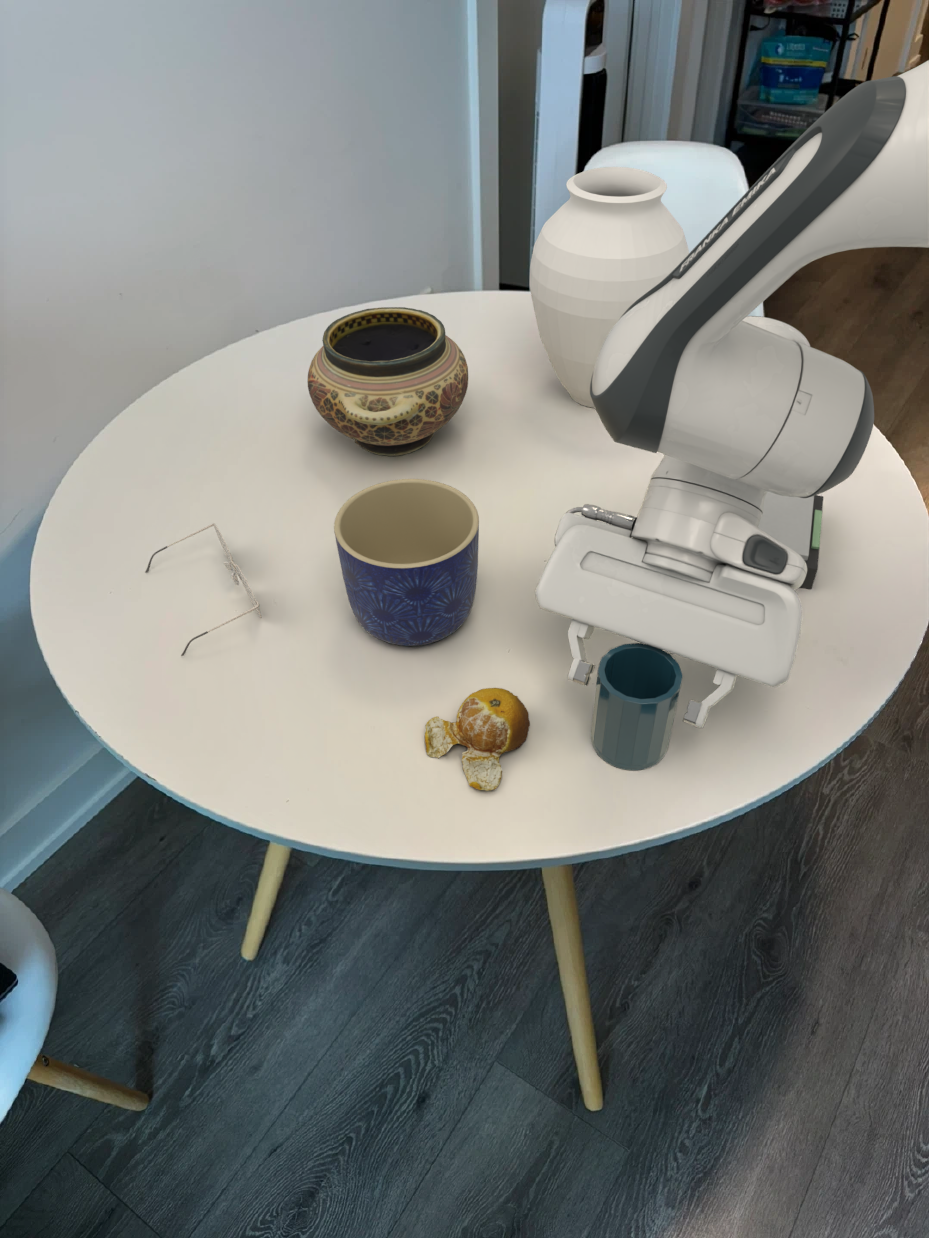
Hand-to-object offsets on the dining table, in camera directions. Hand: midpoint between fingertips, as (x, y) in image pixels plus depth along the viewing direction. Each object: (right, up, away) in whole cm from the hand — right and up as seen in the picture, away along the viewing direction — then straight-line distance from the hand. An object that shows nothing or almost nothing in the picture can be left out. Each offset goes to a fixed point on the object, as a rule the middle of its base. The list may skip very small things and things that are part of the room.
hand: (633, 703), depth 71 cm
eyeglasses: (-38, +8, +17) cm, 43 cm away
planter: (-18, +7, +15) cm, 24 cm away
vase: (+3, +34, +43) cm, 55 cm away
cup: (0, -3, +3) cm, 5 cm away
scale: (+15, +15, +22) cm, 30 cm away
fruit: (-12, -4, +4) cm, 13 cm away
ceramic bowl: (-22, +28, +37) cm, 51 cm away
